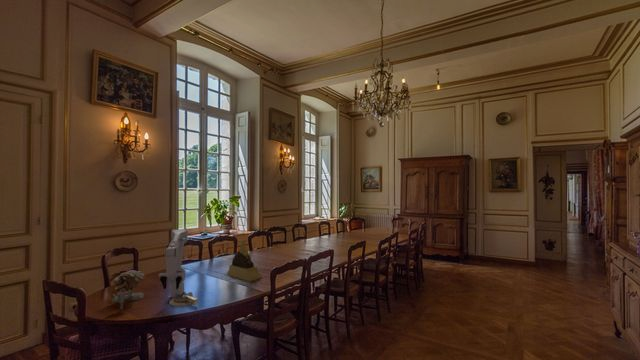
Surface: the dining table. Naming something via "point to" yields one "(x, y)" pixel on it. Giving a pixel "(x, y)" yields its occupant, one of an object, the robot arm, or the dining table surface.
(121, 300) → the mechanical component
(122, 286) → the cherub figurine
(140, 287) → the dining table surface
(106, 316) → the dining table surface
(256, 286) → the dining table surface
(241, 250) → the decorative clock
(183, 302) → the flange plate
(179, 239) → the robot arm
